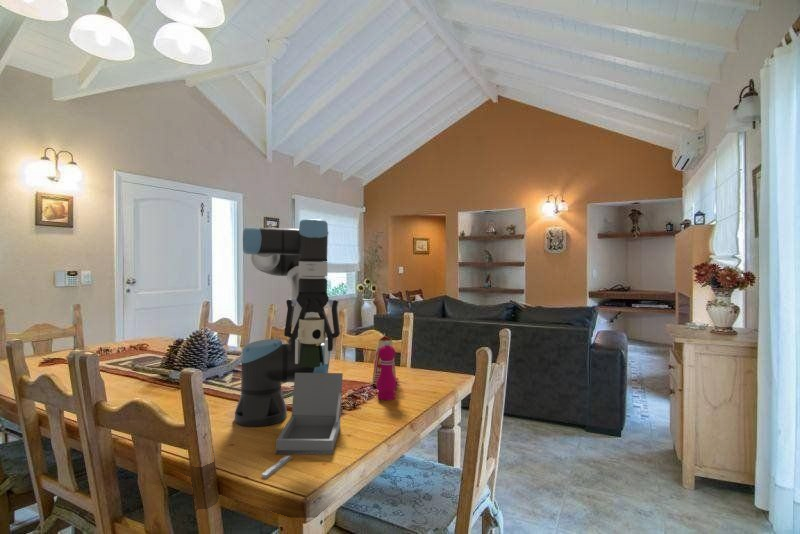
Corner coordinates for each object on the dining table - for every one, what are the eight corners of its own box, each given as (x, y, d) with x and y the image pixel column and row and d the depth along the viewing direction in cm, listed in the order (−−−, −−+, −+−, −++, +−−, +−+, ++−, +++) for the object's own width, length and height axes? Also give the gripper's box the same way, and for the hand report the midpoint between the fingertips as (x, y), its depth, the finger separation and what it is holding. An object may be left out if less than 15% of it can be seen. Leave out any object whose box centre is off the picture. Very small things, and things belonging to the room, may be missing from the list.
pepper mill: (394, 401, 150) (394, 343, 149) (373, 400, 151) (374, 342, 151) (398, 395, 157) (399, 339, 156) (378, 393, 158) (379, 338, 158)
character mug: (309, 373, 111) (309, 322, 110) (287, 369, 114) (288, 319, 114) (334, 364, 120) (335, 317, 120) (314, 360, 124) (314, 315, 123)
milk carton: (395, 385, 168) (396, 334, 168) (371, 385, 169) (372, 333, 168) (396, 379, 178) (396, 330, 177) (373, 378, 178) (374, 329, 177)
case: (276, 454, 109) (276, 394, 109) (295, 421, 130) (295, 372, 130) (332, 454, 109) (333, 395, 109) (342, 422, 131) (342, 372, 130)
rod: (266, 480, 97) (266, 474, 97) (261, 479, 98) (261, 474, 97) (291, 460, 107) (290, 455, 107) (286, 459, 107) (286, 454, 107)
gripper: (271, 277, 113) (270, 365, 113) (349, 278, 113) (348, 366, 114) (278, 276, 120) (278, 359, 121) (351, 277, 121) (350, 359, 121)
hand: (312, 362), depth 117 cm, fingers closed on character mug, 7 cm apart
